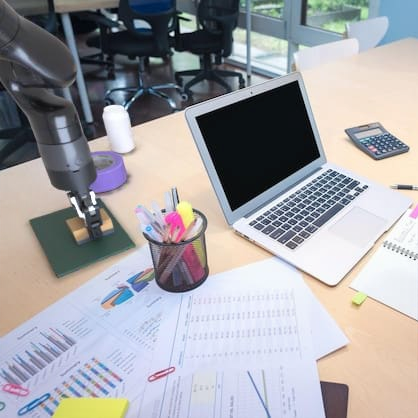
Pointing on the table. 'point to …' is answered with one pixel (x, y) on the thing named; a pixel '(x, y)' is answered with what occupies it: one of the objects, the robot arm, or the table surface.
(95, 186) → the tape roll
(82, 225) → the eraser
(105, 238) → the chalkboard
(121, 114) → the beverage can
